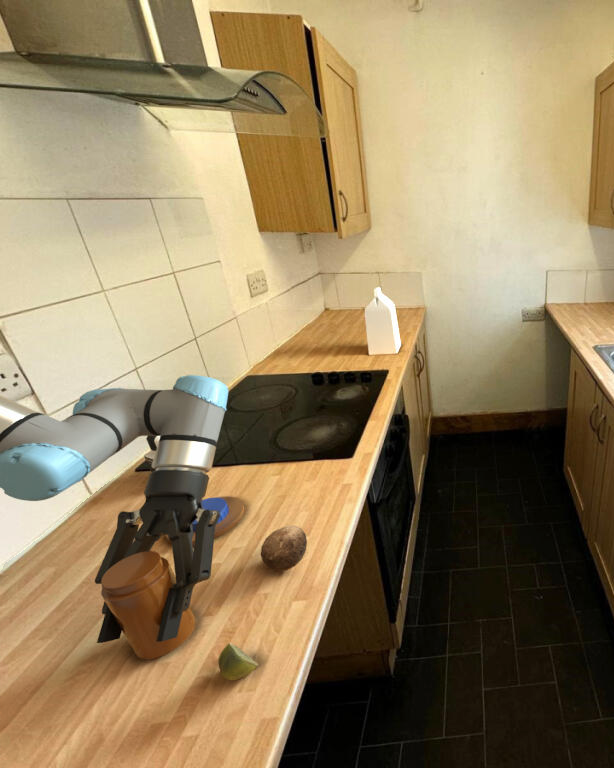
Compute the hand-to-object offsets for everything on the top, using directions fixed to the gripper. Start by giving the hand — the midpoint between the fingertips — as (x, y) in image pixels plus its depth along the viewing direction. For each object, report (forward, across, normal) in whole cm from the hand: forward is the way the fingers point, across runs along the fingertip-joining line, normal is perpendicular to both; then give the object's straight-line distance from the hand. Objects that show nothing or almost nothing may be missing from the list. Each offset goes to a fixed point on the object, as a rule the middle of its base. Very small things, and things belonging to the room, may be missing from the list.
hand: (137, 639), depth 57 cm
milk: (-90, 0, -96) cm, 131 cm away
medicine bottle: (-28, +26, -34) cm, 51 cm away
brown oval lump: (-9, -12, -15) cm, 21 cm away
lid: (-18, +9, -20) cm, 29 cm away
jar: (0, 0, -5) cm, 5 cm away
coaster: (-17, +10, -22) cm, 29 cm away
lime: (+4, -14, -2) cm, 15 cm away
